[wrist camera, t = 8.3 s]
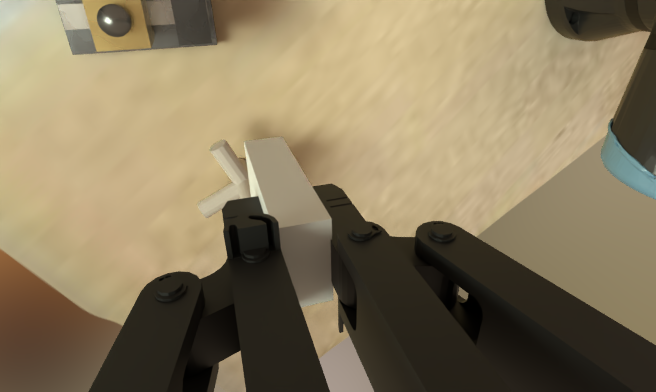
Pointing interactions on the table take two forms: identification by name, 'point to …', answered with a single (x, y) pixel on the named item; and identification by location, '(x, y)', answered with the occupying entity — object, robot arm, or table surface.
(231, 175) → the pipe connector
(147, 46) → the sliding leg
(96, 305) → the table surface
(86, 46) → the bolt plate
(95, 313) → the table surface
